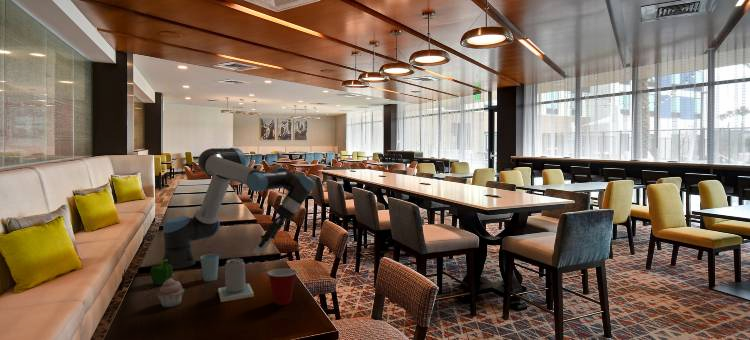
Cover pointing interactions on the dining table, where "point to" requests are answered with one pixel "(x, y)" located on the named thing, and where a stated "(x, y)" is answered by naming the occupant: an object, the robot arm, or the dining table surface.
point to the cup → (209, 266)
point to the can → (235, 275)
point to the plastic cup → (282, 285)
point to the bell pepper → (161, 272)
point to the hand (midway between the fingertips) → (258, 252)
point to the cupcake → (170, 293)
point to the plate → (235, 294)
